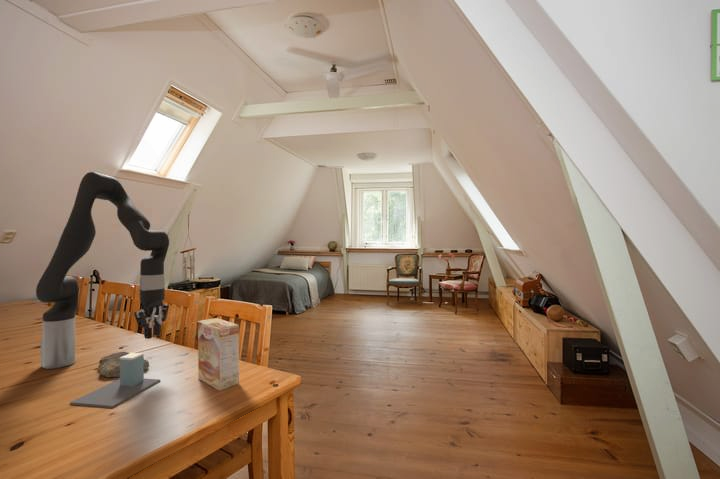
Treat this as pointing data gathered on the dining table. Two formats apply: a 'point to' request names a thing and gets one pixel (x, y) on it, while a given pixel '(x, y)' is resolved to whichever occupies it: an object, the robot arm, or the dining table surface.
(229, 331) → the coffeecake box
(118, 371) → the clay tablet
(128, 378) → the block
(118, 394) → the mat
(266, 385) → the dining table surface
